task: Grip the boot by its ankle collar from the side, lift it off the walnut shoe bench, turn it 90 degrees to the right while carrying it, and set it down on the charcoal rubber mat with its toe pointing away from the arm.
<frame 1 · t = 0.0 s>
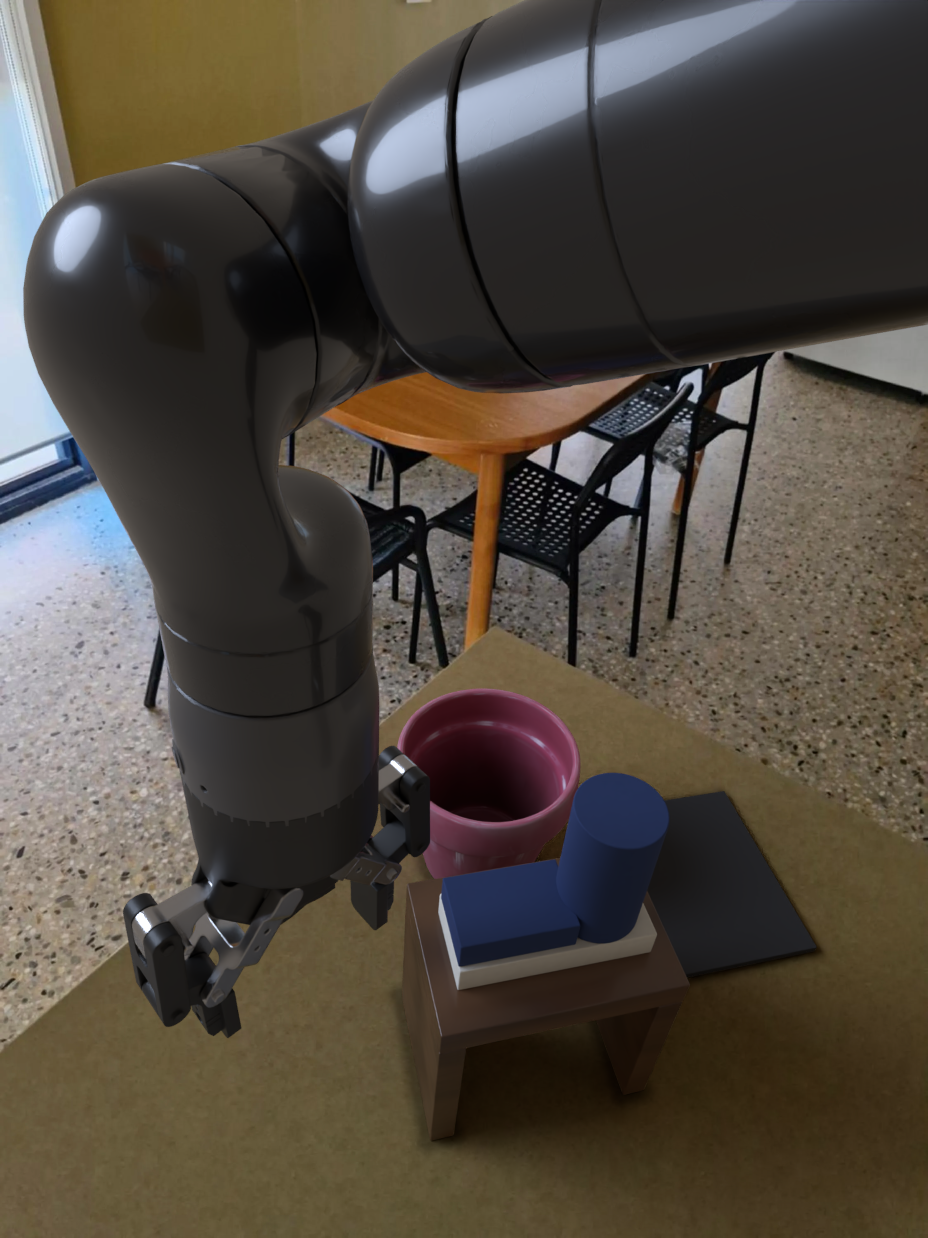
hand: (300, 964, 44), 21 cm above the counter, tool pointing down, fingers open, 8 cm apart
boot: (455, 948, 53), point 14 cm above the counter, touching shoe bench
flower pot: (476, 855, 75), on the counter
shoe mat: (701, 878, 74), on the counter
shoe bench: (519, 1042, 63), on the counter
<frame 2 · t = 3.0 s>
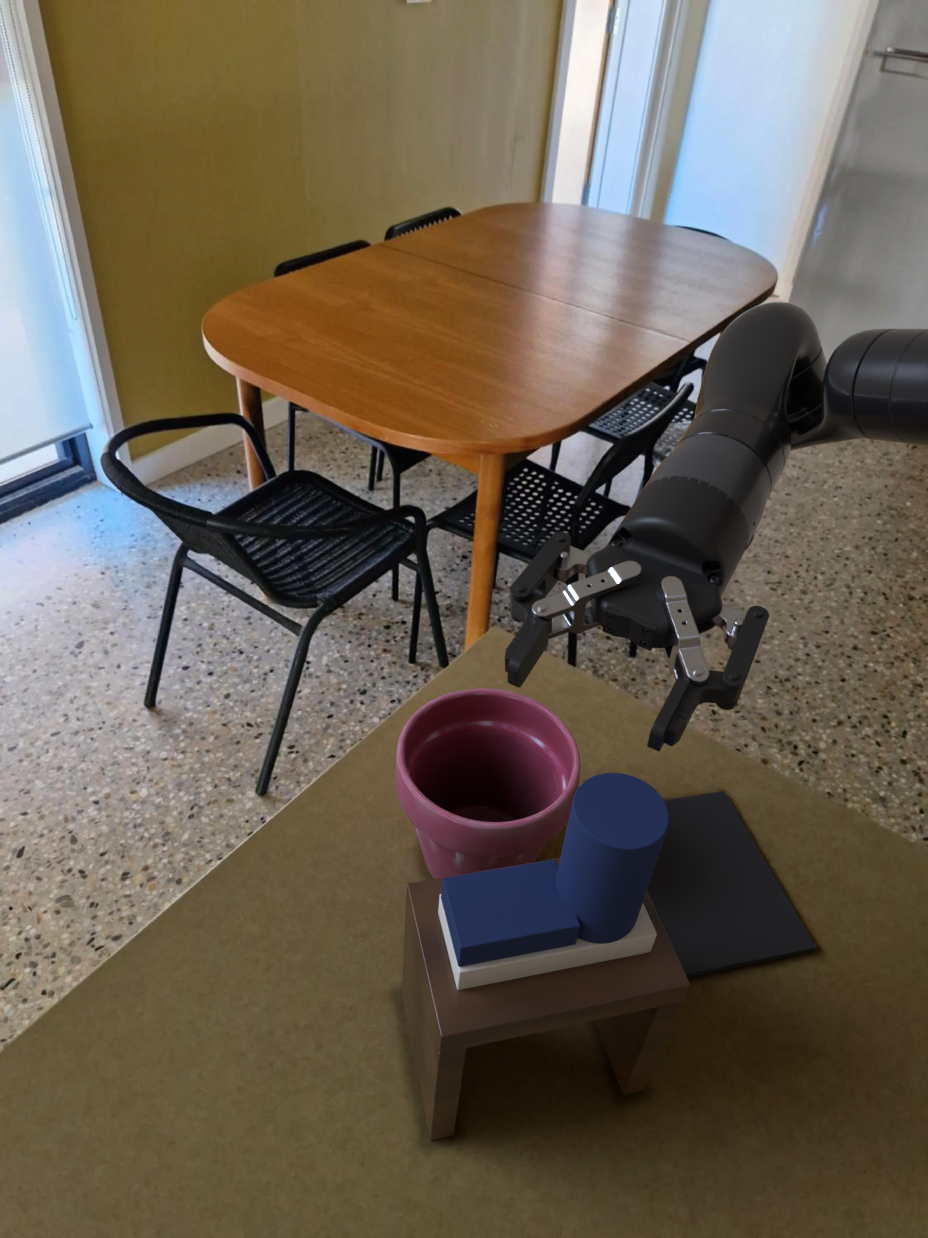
hand: (581, 709, 48), 29 cm above the counter, tool horizontal, fingers open, 8 cm apart
nothing on the counter moved.
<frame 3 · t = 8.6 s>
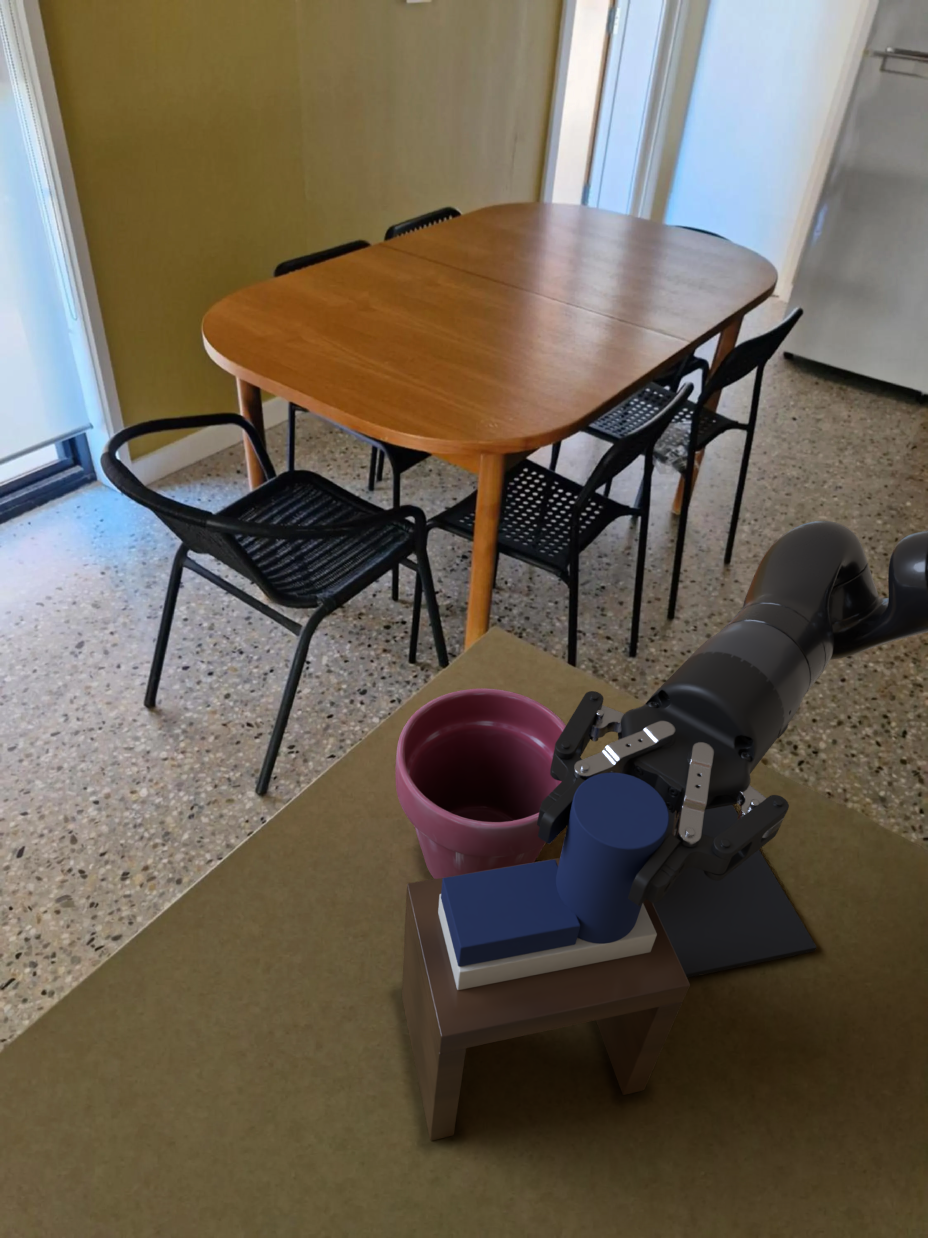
hand: (590, 861, 47), 23 cm above the counter, tool horizontal, fingers closed on boot, 5 cm apart
boot: (455, 948, 53), point 14 cm above the counter, touching gripper, shoe bench
everything else where it was.
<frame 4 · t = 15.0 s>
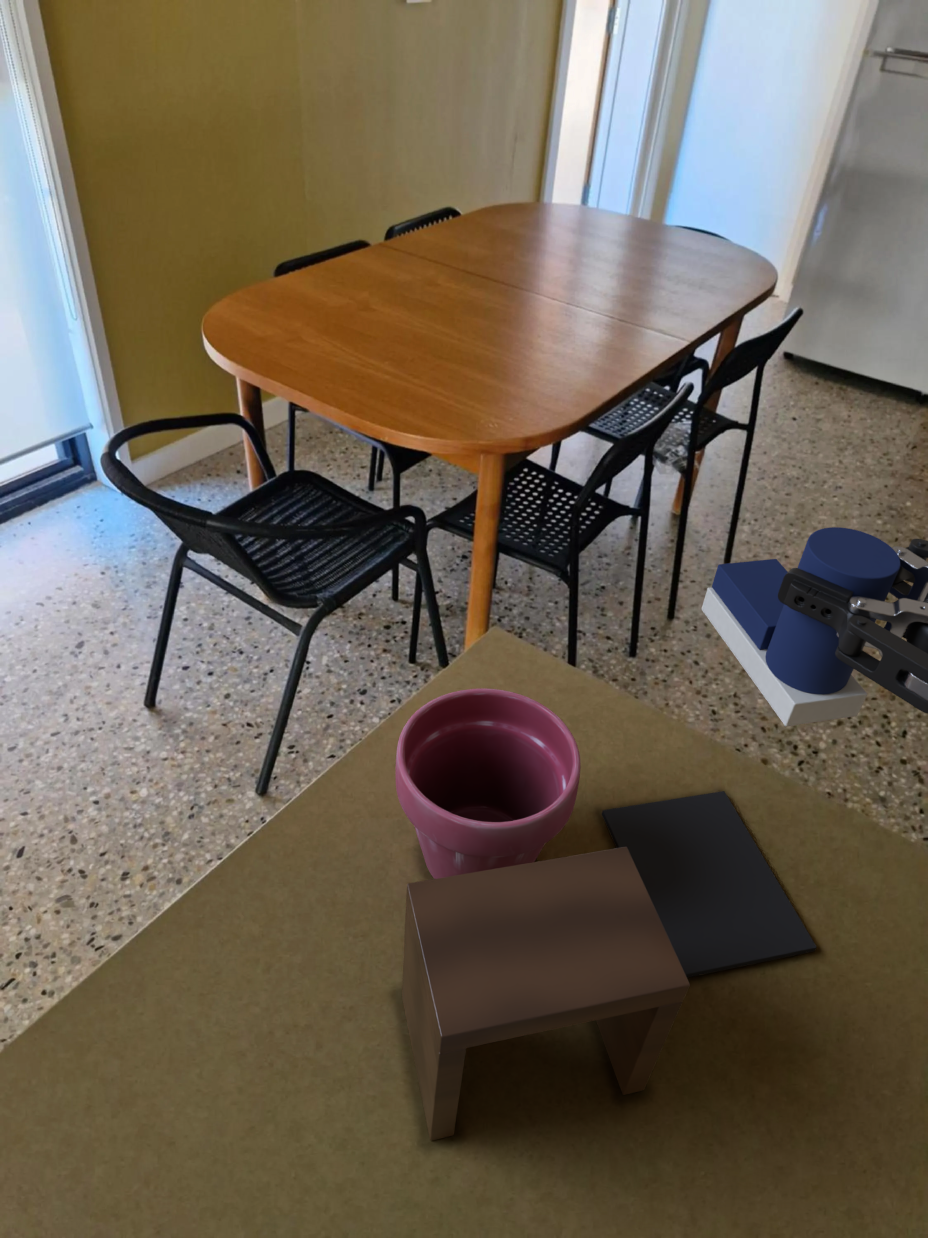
hand: (804, 562, 54), 33 cm above the counter, tool horizontal, fingers closed on boot, 5 cm apart
boot: (736, 609, 65), point 24 cm above the counter, touching gripper
everything else where it was.
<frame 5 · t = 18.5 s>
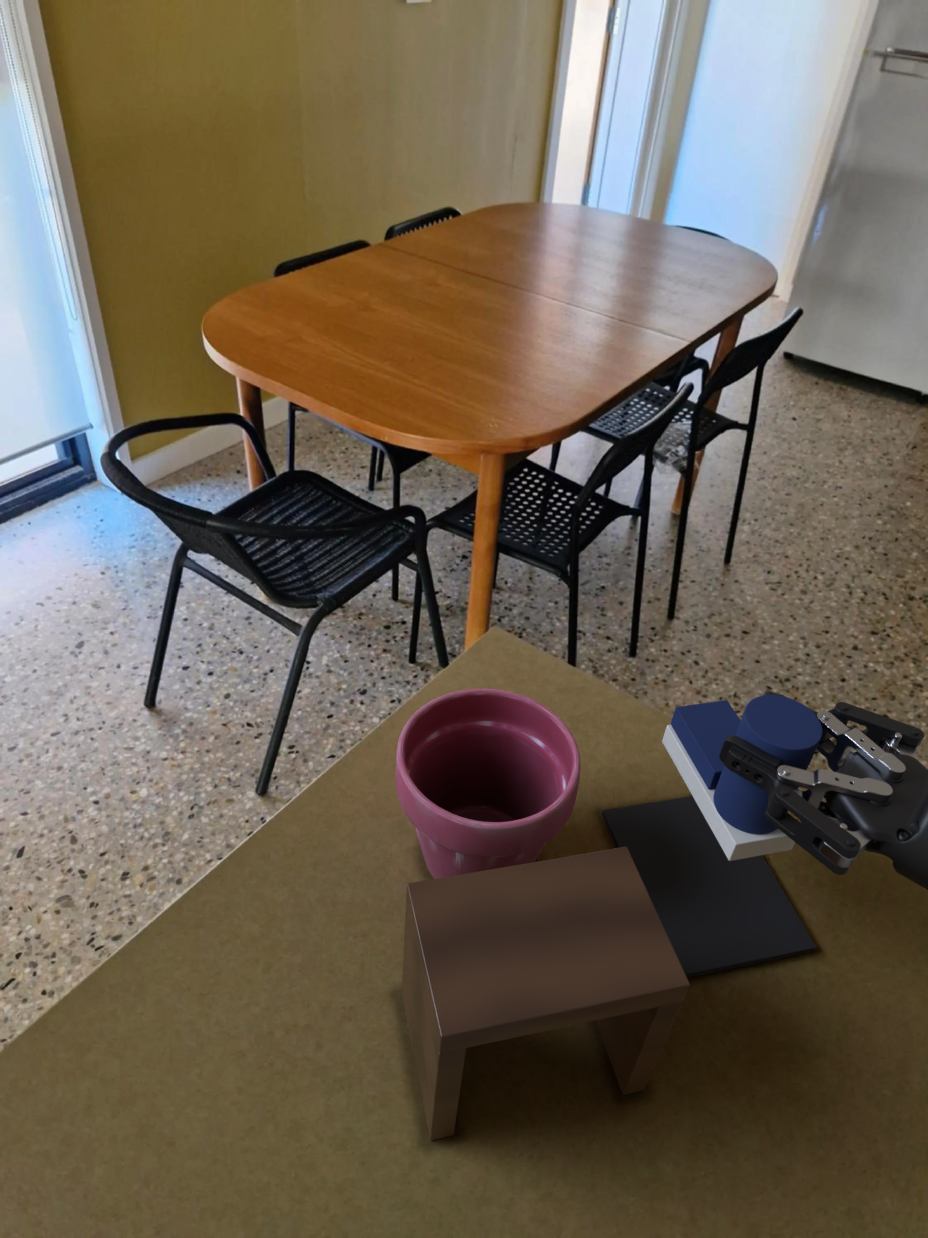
hand: (743, 724, 63), 19 cm above the counter, tool horizontal, fingers closed on boot, 5 cm apart
boot: (692, 741, 73), point 10 cm above the counter, touching gripper
everything else where it was.
when the fingers open (10 cm above the counter, at t = 21.4 s): boot stays where it is, resting on shoe mat.
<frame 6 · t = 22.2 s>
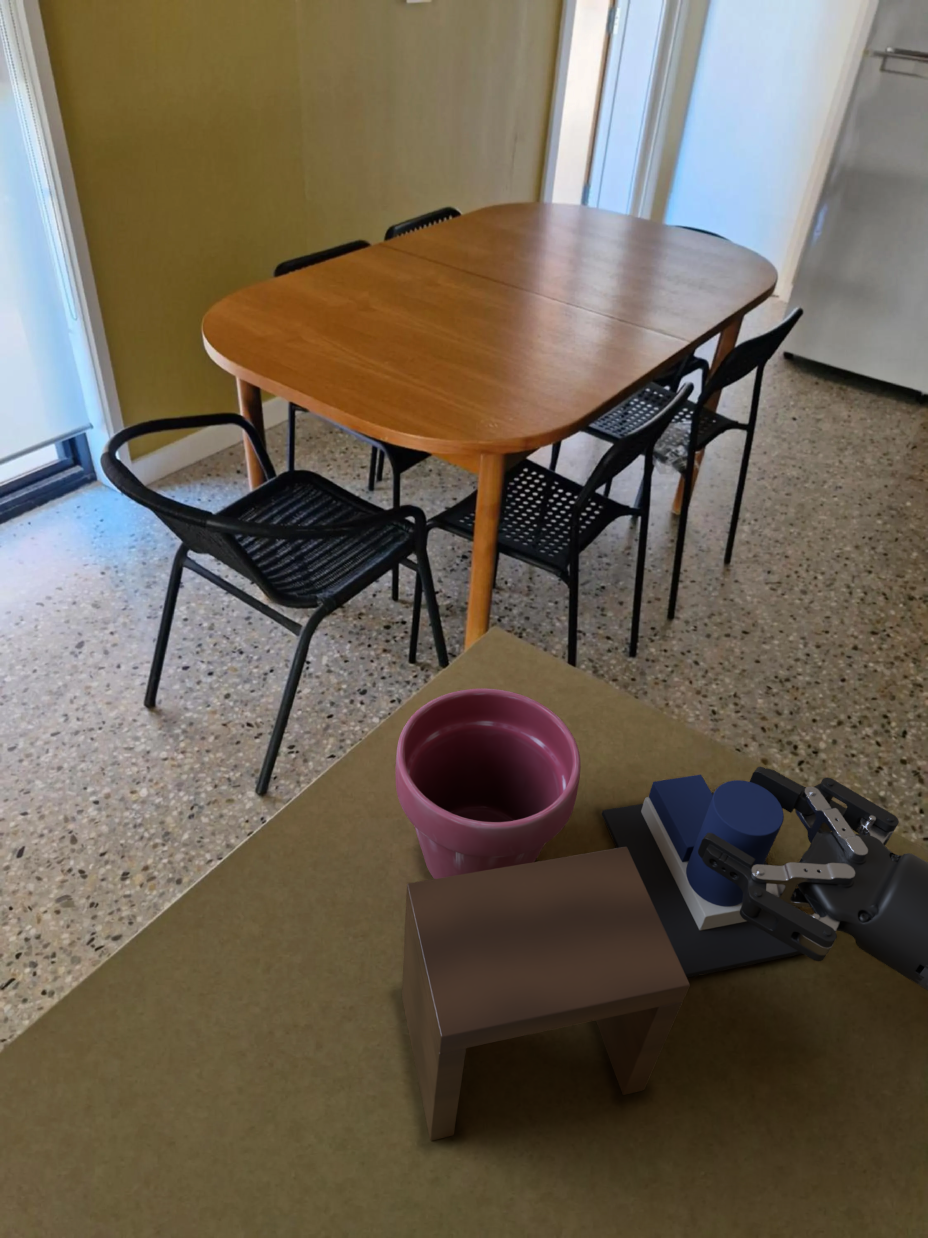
hand: (728, 808, 67), 11 cm above the counter, tool horizontal, fingers open, 8 cm apart
boot: (669, 811, 79), point 1 cm above the counter, touching shoe mat
everything else where it was.
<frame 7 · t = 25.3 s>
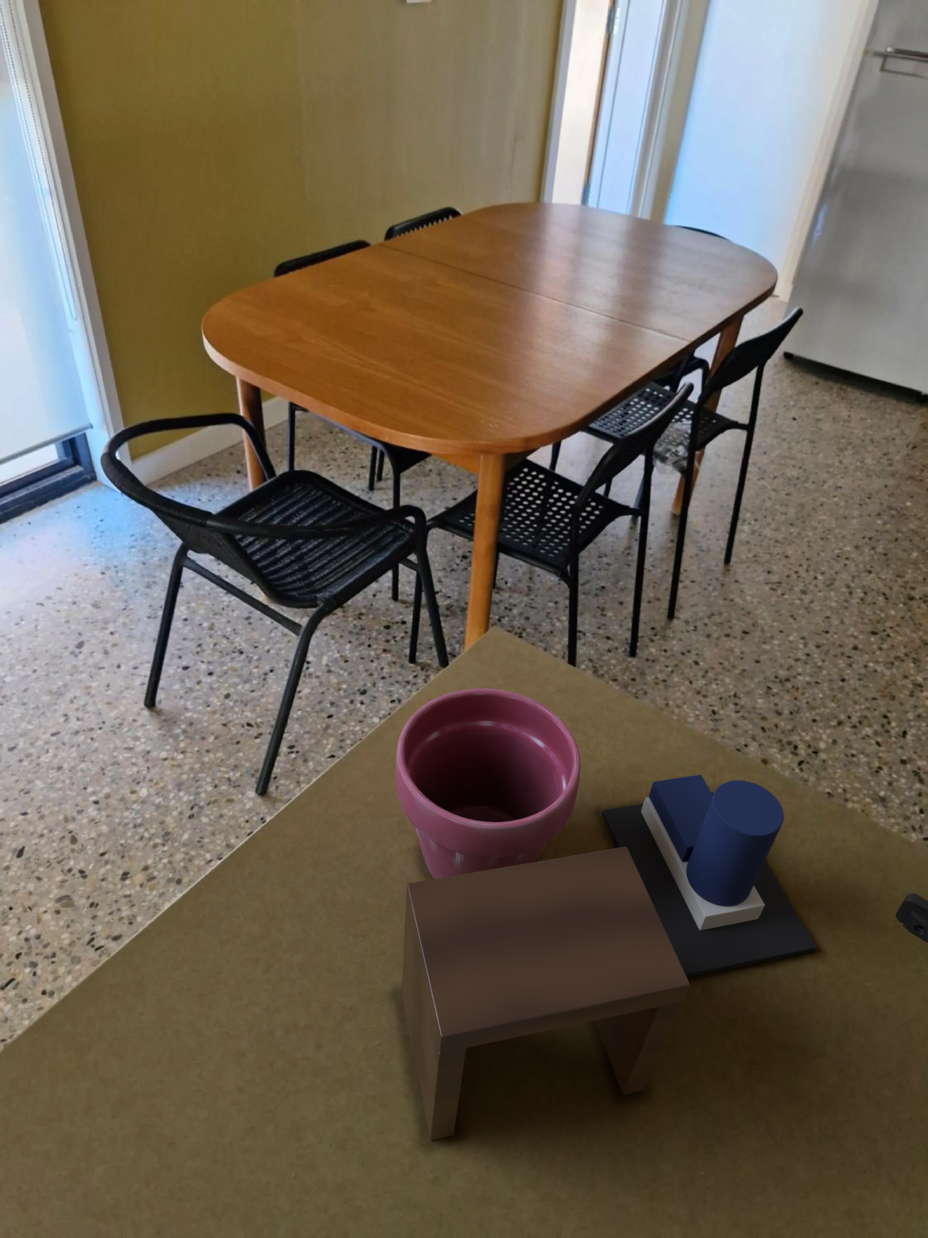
hand: (922, 862, 58), 16 cm above the counter, tool horizontal, fingers open, 8 cm apart
nothing on the counter moved.
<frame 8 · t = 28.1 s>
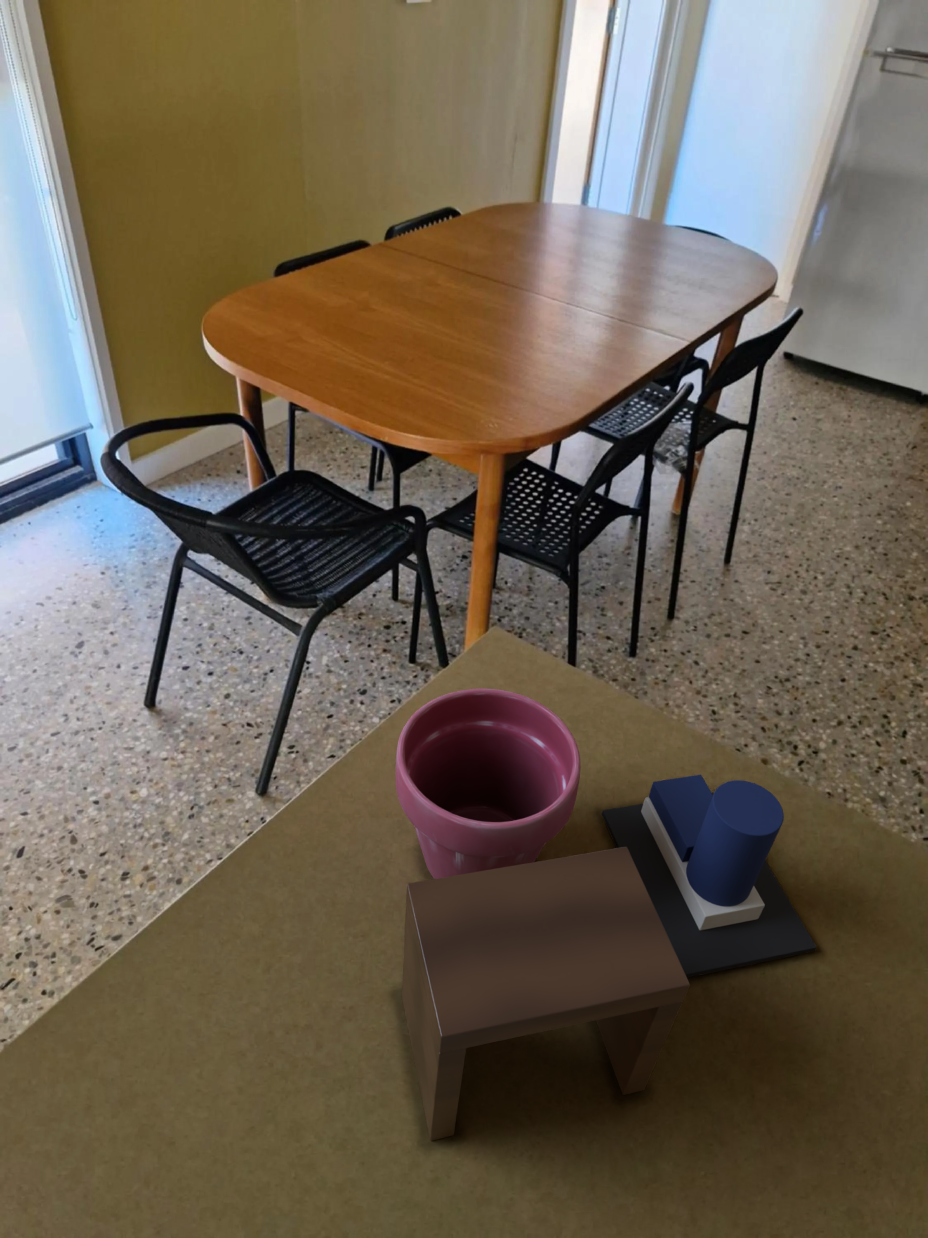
nothing on the counter moved.
at the end: boot inside the target area on the shoe mat (0.2 cm from its centre), point 0.6 cm above the shoe mat's base; boot tilted 0°; the gripper is holding nothing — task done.
